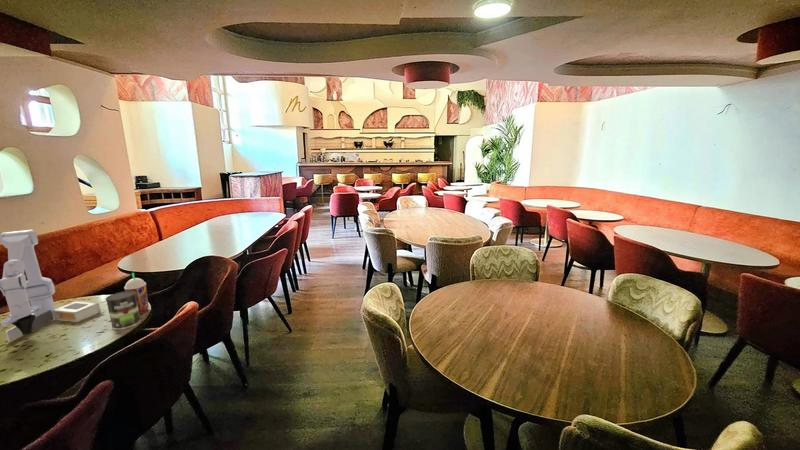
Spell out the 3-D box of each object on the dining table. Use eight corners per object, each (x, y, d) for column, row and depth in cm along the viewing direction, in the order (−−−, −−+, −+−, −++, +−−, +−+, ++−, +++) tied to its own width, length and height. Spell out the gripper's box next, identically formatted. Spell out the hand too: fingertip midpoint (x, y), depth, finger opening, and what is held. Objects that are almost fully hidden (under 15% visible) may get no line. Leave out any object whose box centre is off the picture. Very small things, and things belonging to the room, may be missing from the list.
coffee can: (143, 323, 150) (137, 294, 147) (114, 332, 143) (107, 302, 140) (138, 316, 157) (133, 288, 154) (110, 324, 150) (104, 295, 147)
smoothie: (154, 310, 163) (146, 271, 159) (133, 317, 156) (125, 277, 152) (146, 306, 168) (139, 269, 163) (126, 312, 161) (118, 274, 156)
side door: (53, 319, 155) (51, 309, 154) (10, 341, 136) (6, 331, 135) (51, 319, 155) (49, 310, 154) (8, 341, 136) (4, 331, 135)
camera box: (78, 310, 165) (76, 300, 164) (101, 312, 162) (98, 302, 161) (54, 319, 155) (51, 309, 154) (78, 322, 152) (75, 311, 151)
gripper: (25, 296, 143) (33, 325, 145) (-12, 312, 128) (-2, 343, 131) (43, 295, 143) (51, 324, 146) (8, 311, 129) (17, 342, 132)
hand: (27, 333), depth 139 cm, fingers closed
